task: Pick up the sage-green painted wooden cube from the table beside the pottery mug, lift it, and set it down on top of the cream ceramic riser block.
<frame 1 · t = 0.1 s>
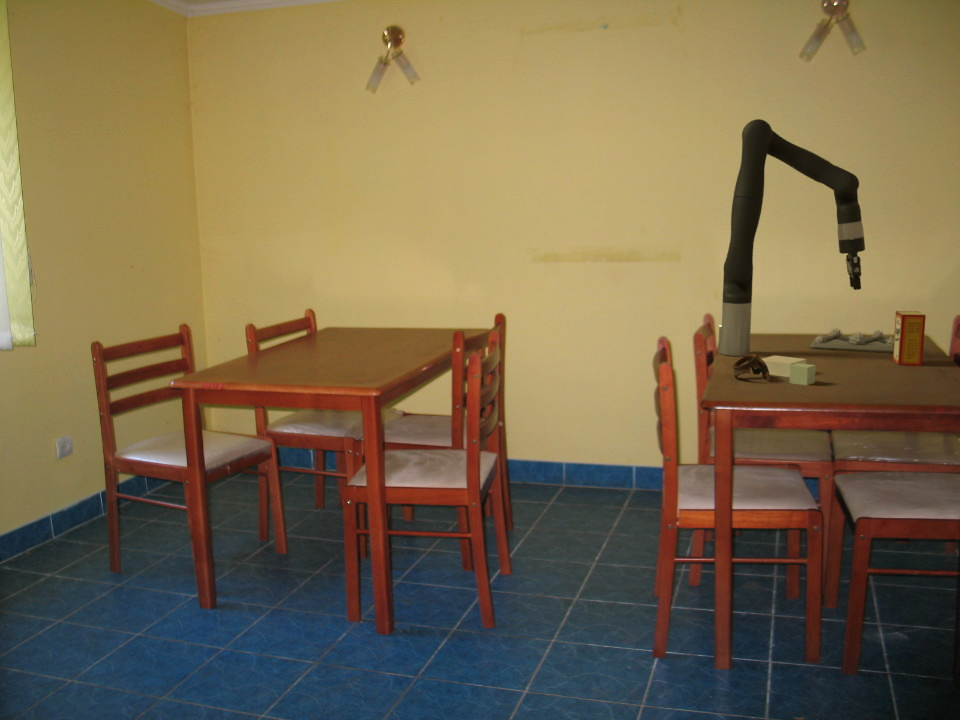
hand: (855, 288, 283), 22 cm above the table, tool pointing down, fingers open, 8 cm apart
decorative plate: (858, 348, 309), on the table
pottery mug: (752, 379, 255), on the table
cube: (802, 383, 249), on the table
baking soda box: (906, 363, 277), on the table
riser: (781, 372, 264), on the table
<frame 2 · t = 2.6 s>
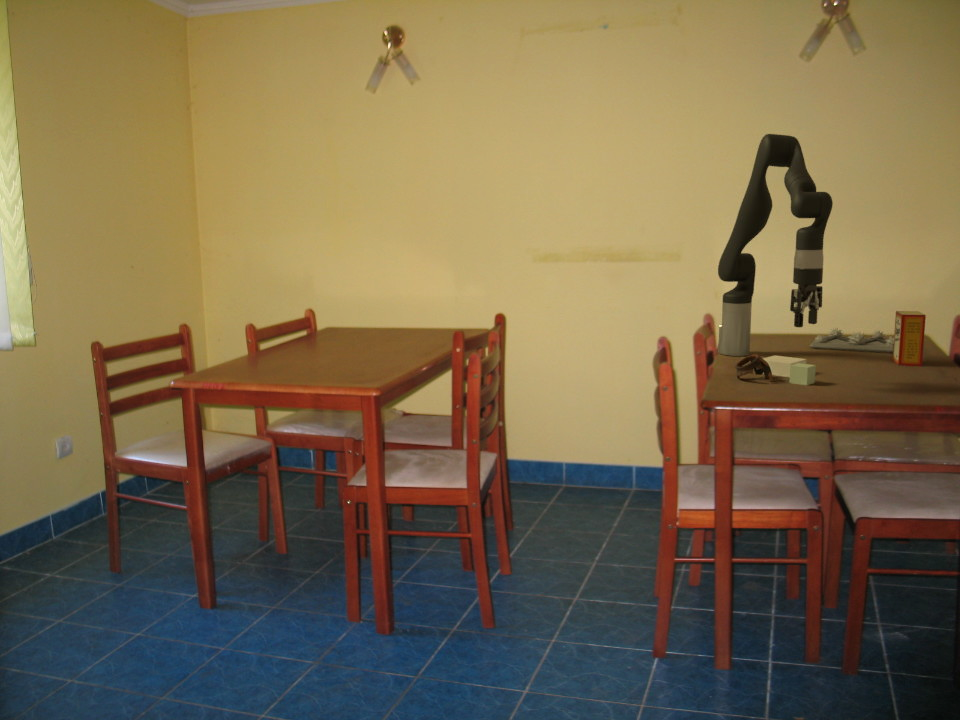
hand: (805, 325, 246), 16 cm above the table, tool pointing down, fingers open, 8 cm apart
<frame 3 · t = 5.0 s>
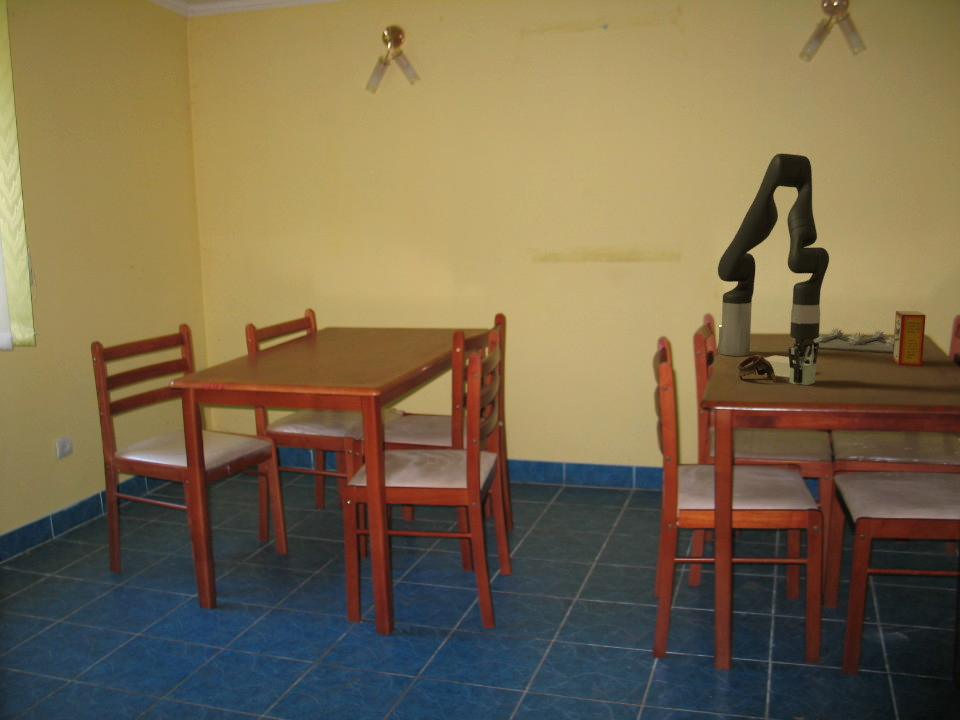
hand: (802, 380, 249), 0 cm above the table, tool pointing down, fingers closed on cube, 5 cm apart
cube: (802, 382, 249), on the table, touching gripper
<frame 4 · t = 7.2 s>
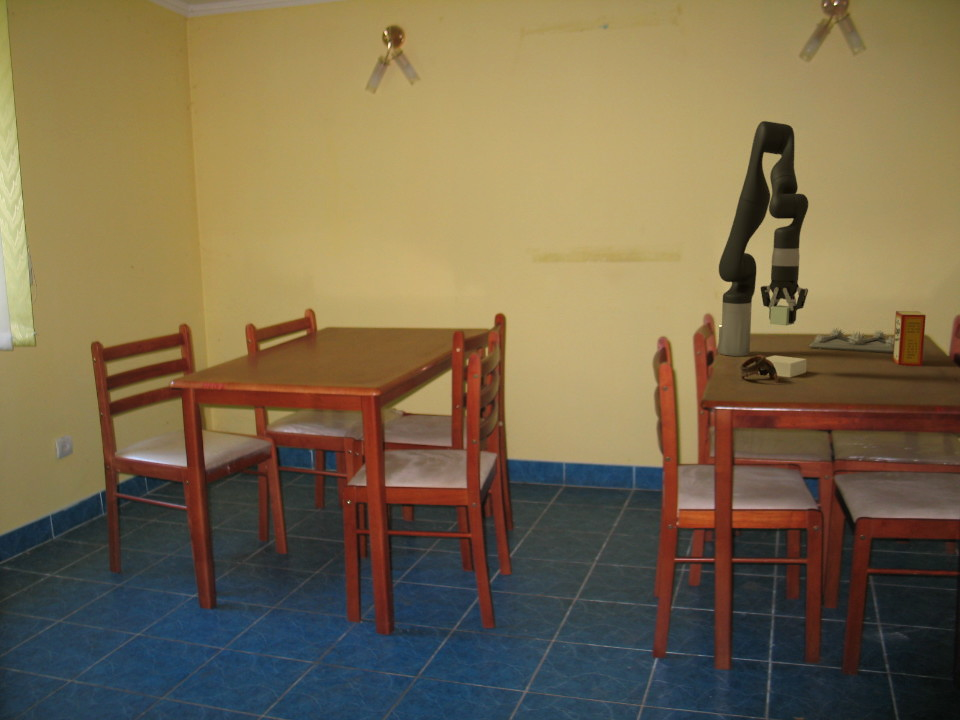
hand: (782, 322, 261), 15 cm above the table, tool pointing down, fingers closed on cube, 5 cm apart
cube: (782, 323, 261), point 15 cm above the table, touching gripper
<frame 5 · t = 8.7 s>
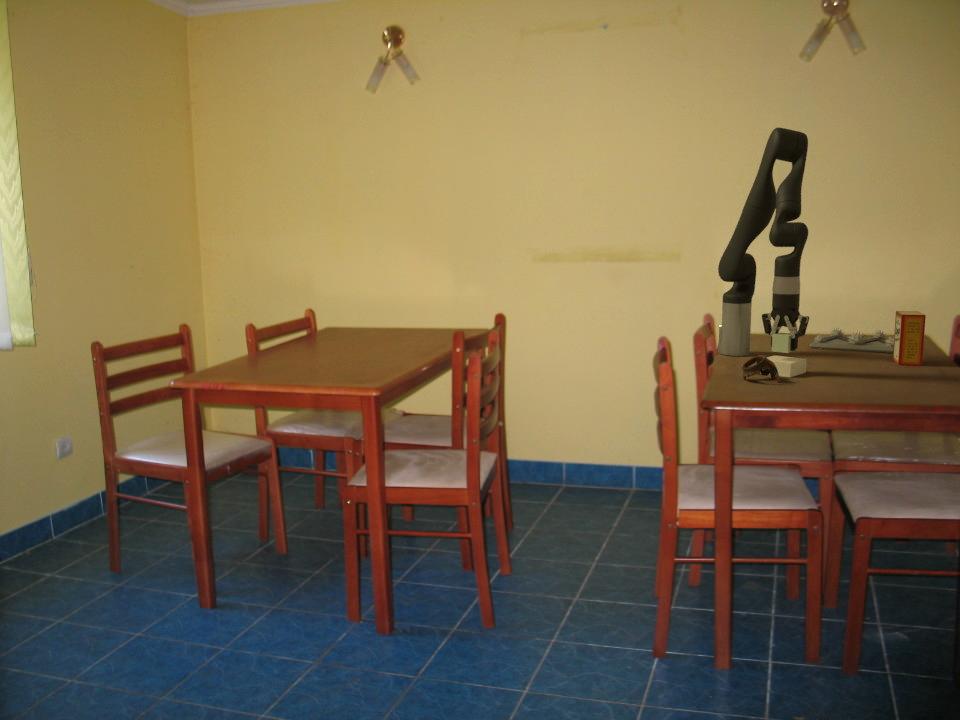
hand: (783, 349, 262), 7 cm above the table, tool pointing down, fingers closed on cube, 5 cm apart
cube: (783, 351, 262), point 6 cm above the table, touching gripper
when the fingers open (6 cm above the table, at t = 9.8 s): cube drops 1 cm, resting on riser.
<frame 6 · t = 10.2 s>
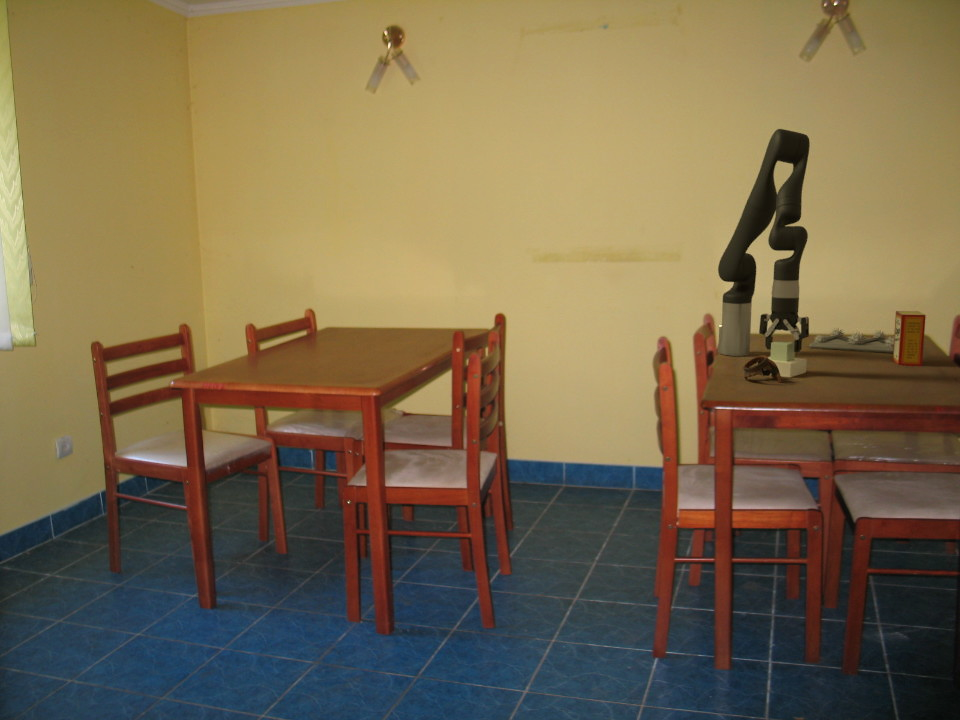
hand: (782, 350, 262), 7 cm above the table, tool pointing down, fingers open, 8 cm apart
cube: (782, 359, 263), point 4 cm above the table, touching riser
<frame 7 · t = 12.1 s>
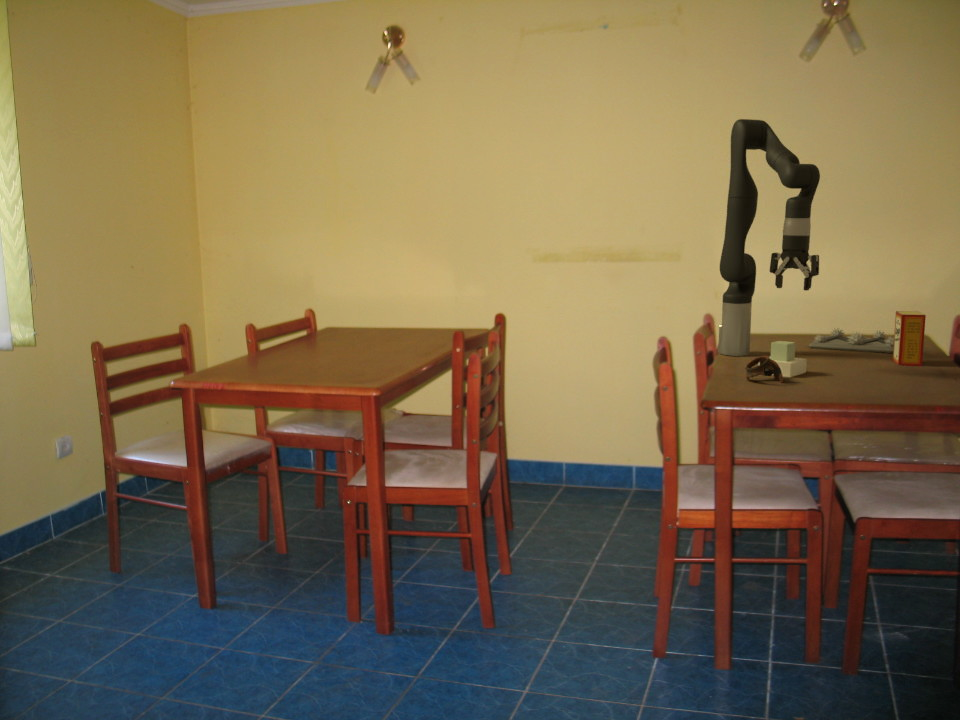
hand: (792, 289, 264), 24 cm above the table, tool pointing down, fingers open, 8 cm apart
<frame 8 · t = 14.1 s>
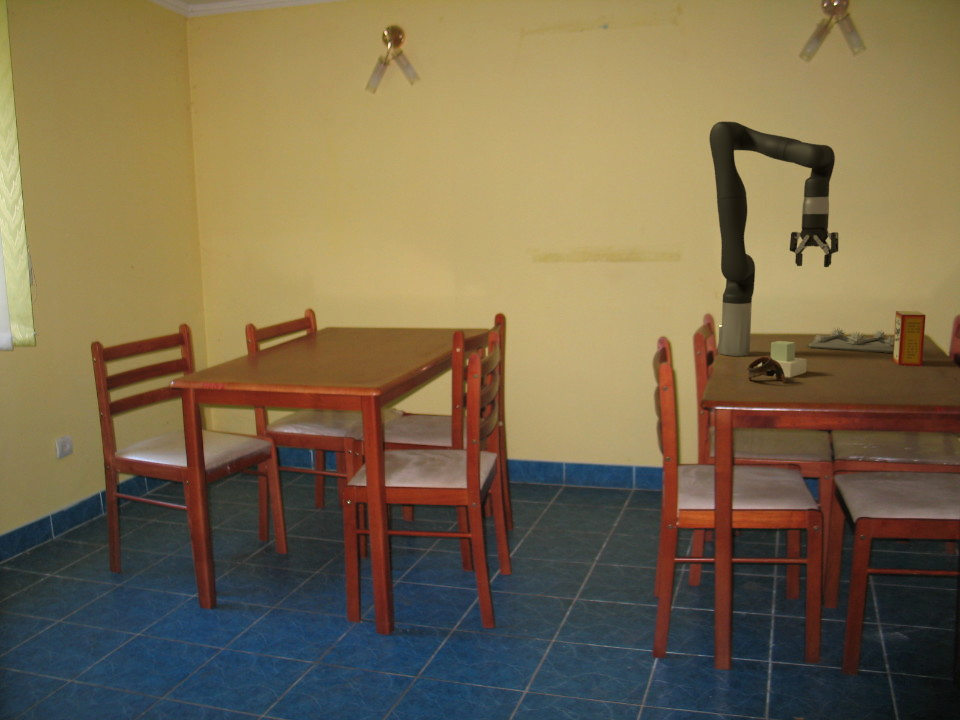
hand: (812, 266, 272), 30 cm above the table, tool pointing down, fingers open, 8 cm apart
at the end: cube inside the target area on the riser (0.0 cm from its centre), point 4.0 cm above the riser's base; cube tilted 0°; the gripper is holding nothing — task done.
